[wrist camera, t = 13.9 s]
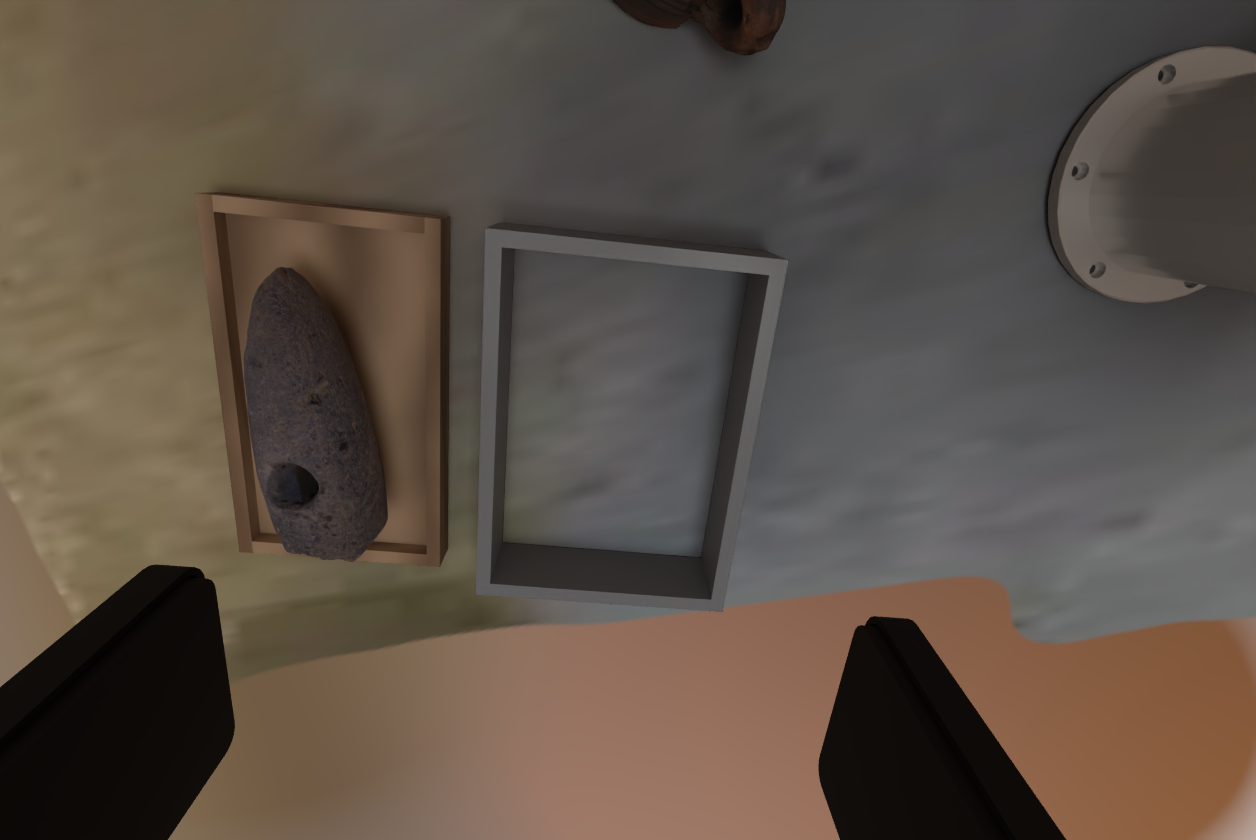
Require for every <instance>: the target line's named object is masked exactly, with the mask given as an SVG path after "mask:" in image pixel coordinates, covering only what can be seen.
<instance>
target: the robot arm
mask: <svg viewBox="0 0 1256 840" xmlns="http://www.w3.org/2000/svg"><path fill="white" fill-rule="evenodd" d="M1048 225H1049V230H1050V235H1051V240H1052V244H1053V246H1054V249H1055V251H1056V253H1057V255H1058V258H1059V260H1060V262H1061V263H1062V264H1063V266H1064V267H1065V268H1066V270H1067V271H1068V272H1069V274H1070V275H1071V276H1072V277H1073V278H1074V279H1075V280H1077V281H1078V282H1079V283H1080V284H1082V285H1083V286H1084V287H1085V288H1087V289H1089V290H1091V291H1093V292H1095V293H1097V294H1100V295H1102V296H1104V297H1109V298H1113V299H1117V300H1120V301H1126V302H1135V303H1154V302H1165V301H1169V300H1172V299H1176V298H1180V297H1183V296H1187V295H1189V294H1191V293H1194V292H1196V291H1198V290H1200V289H1203V288H1205V287H1207V286H1213V287H1219V288H1225V289H1231V290H1237V291H1242V292H1248V293H1254V294H1256V54H1255V53H1253V52H1250V51H1246V50H1242V49H1238V48H1235V47H1230V46H1205V47H1200V48H1195V49H1189V50H1184V51H1180V52H1176V53H1173V54H1170V55H1166V56H1163V57H1160V58H1156V59H1154V60H1152V61H1150V62H1148V63H1146V64H1144V65H1142V66H1140V67H1138V68H1136V69H1134V70H1132V71H1131V72H1130V73H1128V74H1127V75H1126V76H1124V77H1123V78H1121V79H1120V80H1119V81H1117V82H1116V83H1115V84H1113V85H1112V86H1110V87H1109V88H1108V89H1107V90H1106V91H1105V92H1104V93H1103V94H1102V95H1101V96H1100V97H1099V98H1098V99H1097V100H1096V101H1095V102H1094V103H1093V104H1092V105H1091V106H1090V107H1089V109H1088V110H1087V111H1086V113H1085V114H1084V115H1083V117H1082V118H1081V119H1080V121H1079V122H1078V123H1077V125H1076V126H1075V127H1074V129H1073V131H1072V133H1071V134H1070V136H1069V138H1068V140H1067V142H1066V144H1065V145H1064V147H1063V149H1062V151H1061V153H1060V156H1059V159H1058V162H1057V165H1056V167H1055V170H1054V173H1053V176H1052V181H1051V186H1050V192H1049V197H1048ZM234 729H235V722H234V714H233V708H232V700H231V694H230V686H229V679H228V672H227V665H226V658H225V651H224V644H223V637H222V630H221V623H220V616H219V609H218V602H217V595H216V589H215V585H214V583H213V582H212V580H209V579H205V577H204V574H203V572H202V571H201V570H200V569H198V568H195V567H183V566H169V565H151V566H148V567H147V568H145V569H143V570H142V571H141V572H140V573H138V574H137V575H136V576H135V577H133V578H132V579H131V580H130V581H129V582H127V583H126V584H125V585H124V586H123V587H121V588H120V589H119V590H118V591H116V592H115V593H114V594H113V595H112V596H110V597H109V598H108V599H107V600H106V601H104V602H103V603H102V604H101V605H99V606H98V607H97V608H96V609H95V610H93V611H92V612H91V613H90V614H89V615H87V616H86V617H85V618H84V619H83V620H81V621H80V622H79V623H78V624H76V625H75V626H74V627H73V628H72V629H70V630H69V631H68V632H67V633H66V634H64V635H63V636H62V637H61V638H60V639H58V640H57V641H56V642H55V643H53V644H52V645H51V646H50V647H49V648H47V649H46V650H45V651H44V652H43V653H41V654H40V655H39V656H38V657H36V658H35V659H34V660H33V661H32V662H30V663H29V664H28V665H27V666H26V667H25V668H23V669H22V670H21V671H19V672H18V673H17V674H16V675H15V676H13V677H12V678H11V679H10V680H9V681H7V682H6V683H5V684H4V685H2V686H1V687H0V840H168V838H169V837H170V835H171V834H172V833H173V831H174V830H175V828H176V827H177V825H178V824H179V822H180V821H181V819H182V818H183V816H184V815H185V813H186V812H187V810H188V809H189V807H190V806H191V804H192V803H193V801H194V800H195V799H196V797H197V796H198V794H199V793H200V791H201V790H202V788H203V787H204V785H205V784H206V782H207V781H208V779H209V778H210V776H211V775H212V773H213V772H214V770H215V769H216V767H217V766H218V764H219V763H220V762H221V760H222V759H223V757H224V756H225V754H226V752H227V751H228V749H229V747H230V744H231V742H232V739H233V735H234ZM819 778H820V783H821V786H822V789H823V792H824V795H825V798H826V801H827V804H828V806H829V809H830V812H831V815H832V818H833V821H834V824H835V826H836V829H837V832H838V835H839V838H840V840H1066V839H1065V837H1064V836H1063V834H1062V833H1061V832H1060V830H1059V829H1058V827H1057V826H1056V825H1055V823H1054V821H1053V820H1052V819H1051V817H1050V816H1049V814H1048V813H1047V811H1046V810H1045V809H1044V807H1043V806H1042V804H1041V803H1040V801H1039V800H1038V798H1037V797H1036V795H1035V794H1034V793H1033V791H1032V790H1031V788H1030V787H1029V785H1028V784H1027V783H1026V781H1025V780H1024V778H1023V777H1022V776H1021V774H1020V772H1019V771H1018V770H1017V768H1016V767H1015V765H1014V764H1013V762H1012V761H1011V760H1010V758H1009V757H1008V755H1007V754H1006V752H1005V751H1004V749H1003V748H1002V747H1001V745H1000V744H999V742H998V741H997V739H996V738H995V736H994V735H993V734H992V732H991V731H990V729H989V728H988V727H987V725H986V724H985V722H984V721H983V719H982V718H981V716H980V715H979V714H978V712H977V711H976V709H975V708H974V706H973V705H972V703H971V702H970V701H969V699H968V698H967V696H966V695H965V693H964V692H963V690H962V689H961V688H960V686H959V685H958V683H957V682H956V680H955V679H954V677H953V676H952V675H951V673H950V672H949V670H948V669H947V668H946V666H945V665H944V663H943V662H942V660H941V659H940V657H939V656H938V654H937V653H936V652H935V650H934V649H933V647H932V646H931V644H930V643H929V642H928V640H927V639H926V638H925V636H924V634H923V633H922V632H921V630H920V629H919V627H918V626H917V624H916V623H915V622H914V621H913V620H910V619H904V618H890V617H876V616H874V617H870V618H869V620H868V621H867V623H866V625H865V626H862V625H860V626H858V627H857V628H856V630H855V632H854V635H853V638H852V642H851V646H850V649H849V653H848V657H847V660H846V663H845V667H844V671H843V674H842V678H841V681H840V685H839V689H838V693H837V696H836V699H835V703H834V707H833V710H832V714H831V717H830V721H829V725H828V729H827V732H826V736H825V739H824V743H823V746H822V750H821V753H820V758H819Z"/></svg>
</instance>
